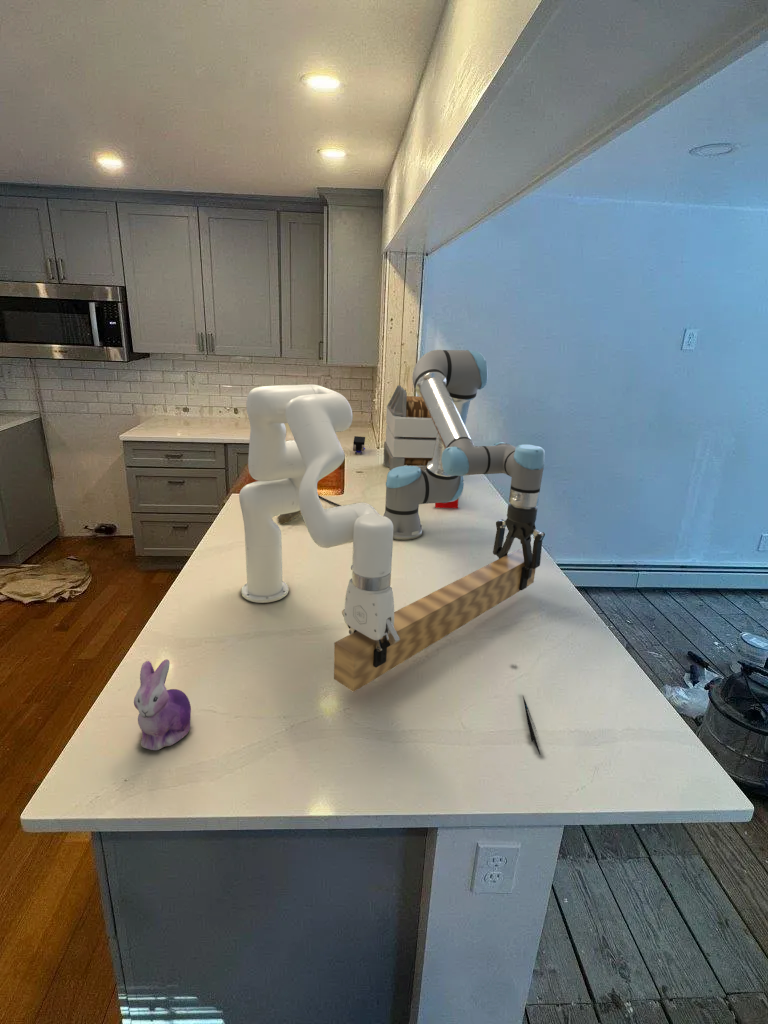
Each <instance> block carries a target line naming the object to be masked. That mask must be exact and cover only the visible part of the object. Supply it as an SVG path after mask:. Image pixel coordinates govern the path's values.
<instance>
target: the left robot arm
mask: <svg viewBox="0 0 768 1024" xmlns="http://www.w3.org/2000/svg"><path fill="white" fill-rule="evenodd" d="M245 405H246V414H247V417H248V421H249V429H250V430H249V431H250V432H249V442H248V443H249V444H248V457H247V466H248V467H247V468H248V473H249V475H250V477H251V478H252V479H253V480H255V481H253V482H250V483H248V484H245V485H244V486H243V487H242V488H241V489H240V491H239V495H238V498H239V499H238V500H239V506H240V510H241V514H242V520H243V529H244V530H243V531H244V545H245V548H244V549H245V568H246V569H245V570H246V583H245V584H244V585H243V586H242V587H241V589H240V591H241V596H242V598H244V599H245V600H247V601H249V602H253V603H258V604H266V603H274V602H276V601H279V600H282V599H283V598H285V597H286V596H287V595H288V593H289V585H288V584H287V583H286V582H285V581H284V580H283V537H282V536H283V535H282V530H281V528H280V526H279V524H277V523H276V522H275V521H274V520H273V518H274V517H278V516H279V515H282V514H287V513H292V512H297V511H299V510H300V511H301V513H300V514H301V518H302V519H303V522H304V524H305V528H306V529H307V532H308V534H309V536H310V538H311V540H312V541H313V542H314V543H315V545H317V546H318V547H320V548H324V549H329V548H333V547H338V546H342V545H347V544H351V543H352V563H351V565H350V570H351V578H350V579H349V581H348V585H347V588H346V593H345V599H344V608H343V609H342V610H341V614H342V617H343V620H344V623H345V624H346V626H347V628H348V634H349V635H350V634H352V633H354V632H356V631H359V632H360V633H362V634H364V635H366V636H367V637H369V638H371V639H373V640H375V645H376V649H375V650H374V660H373V666H374V667H376V668H377V667H378V666H380V665H382V664H383V663H385V662H386V657H387V647H389V646H391V645H393V644H395V643H397V642H398V641H400V638H399V636H398V634H397V632H396V630H395V628H394V612H395V601H394V592H393V591H394V590H393V587H392V586H391V584H392V583H391V582H392V566H393V565H392V563H393V547H394V545H393V544H394V539H393V523H392V521H391V520H390V519H389V518H387V517H385V516H383V515H382V514H380V513H379V512H378V511H377V510H376V509H375V507H373V505H371V504H370V503H368V502H362V501H361V502H354V503H350V504H349V503H348V504H343V505H341V506H337V505H336V506H332V507H327V508H324V507H323V504H322V502H321V500H320V499H321V498H319V496H320V495H319V493H318V483H319V481H321V480H322V479H324V478H325V477H327V476H328V475H330V474H332V473H333V472H334V471H335V470H337V469H338V468H340V466H341V465H342V464H343V463H344V461H345V458H346V454H345V451H344V449H343V447H342V444H341V441H340V440H339V437H338V435H337V433H339V432H340V433H341V432H344V431H347V430H348V429H349V428H350V427H351V426H352V423H353V417H354V414H353V409H352V407H351V404H350V402H349V400H348V399H347V398H346V397H345V396H344V395H343V394H342V393H340V392H338V391H335V390H333V389H330V388H326V387H324V386H322V385H319V384H313V383H311V384H308V383H307V384H280V385H278V384H277V385H263V386H255V387H254V388H252V389H251V390H250V391H249V392H248V394H247V396H246V404H245ZM286 424H287V425H288V427H289V429H290V432H291V435H292V437H293V439H290V440H289V439H288V440H286V439H287V426H286ZM318 495H319V496H318ZM388 636H389V637H388ZM382 637H383V643H381V640H380V639H381V638H382Z"/></svg>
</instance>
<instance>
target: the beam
mask: <svg viewBox="0 0 768 1024" xmlns="http://www.w3.org/2000/svg"><path fill="white" fill-rule="evenodd" d="M524 566H525V563H524V556H523V549H522V548H518V549H516V550H514V551H512V552H510V553H508V554H507V555H506V556H504V557H502V558H500V559H499V558H498V559H495V560H494V561H492V562H490V563H488V564H486V565H484V566H482V567H480V568H478V569H476V570H475V571H472V572H470V573H469V574H466V575H465V576H462V577H460V578H459V579H456V580H454V581H453V582H450V583H448V584H447V585H445V586H443V587H441V588H439V589H437V590H435V591H433V592H430V593H429V594H427V595H425V596H423V597H420V598H419V599H417V600H415V601H413V602H411V603H409V604H408V605H405V606H403V607H402V608H399V609H397V610H395V611H394V628H395V630H396V632H397V634H398V636H399V638H400V641H398V642H397V643H395V644H393V645H391V646H389V647H387V657H386V662H385V663H383V664H382V665H380V666H378V667H377V668H376V667H374V666H373V660H374V650H375V649H376V645H375V640H373V639H371V638H369V637H367V636H366V635H364V634H362V633H360V632H359V631H356V632H354V633H352V634H349V635H346V636H344V637H343V638H340V639H339V640H336V641H335V642H334V643H333V645H334V646H333V647H334V649H333V650H334V651H333V680H335V681H336V682H337V683H339V684H340V685H342V686H343V687H345V688H347V689H348V690H350V691H351V692H353V693H354V692H356V691H358V690H359V689H361V688H363V687H365V686H366V685H368V684H369V683H370V682H373V681H374V680H376V679H377V678H379V677H381V676H382V675H384V674H385V673H387V672H389V671H391V670H392V669H393V668H396V667H397V666H399V665H401V664H402V663H404V662H405V661H407V660H409V659H410V658H412V657H414V656H415V655H417V654H419V653H420V652H422V651H423V650H425V649H427V648H428V647H430V646H431V645H433V644H435V643H437V642H438V641H440V640H442V639H443V638H445V637H447V636H449V635H450V634H452V633H453V632H454V631H457V630H458V629H459V628H462V627H463V626H465V625H467V624H468V623H470V622H471V621H473V620H474V619H477V618H478V617H480V616H481V615H482V614H484V613H486V612H488V611H489V610H491V609H493V608H494V607H496V606H497V605H499V604H501V603H502V602H504V601H506V600H507V599H509V598H511V597H512V596H514V595H516V594H518V593H519V592H522V591H521V590H519V586H520V579H521V572H522V568H523V567H524ZM536 569H537V568H535V569H532V573H531V578H530V579H528V581H527V587H529V586H531V585H532V584H534V583H535V575H536ZM388 637H389V636H388ZM380 640H381V643H383V637H382V638H381V639H380Z"/></svg>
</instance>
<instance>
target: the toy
mask: <svg viewBox="0 0 768 1024" xmlns="http://www.w3.org/2000/svg"><path fill="white" fill-rule="evenodd" d="M459 498H460V497H459ZM459 498H458V499H457V500H455V501H453V502H447V503H434V508H435V509H459V500H460V499H459Z"/></svg>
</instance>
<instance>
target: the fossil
mask: <svg viewBox="0 0 768 1024" xmlns="http://www.w3.org/2000/svg"><path fill="white" fill-rule="evenodd" d="M300 514H301V511H300V510H299V511H297V512H292V513H287V514H282V515H278V516H277V521H278V523H280V524H286V523H289V522H291V521H293V520H294V519H295V518H297V517H298V516H299V515H300Z"/></svg>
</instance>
